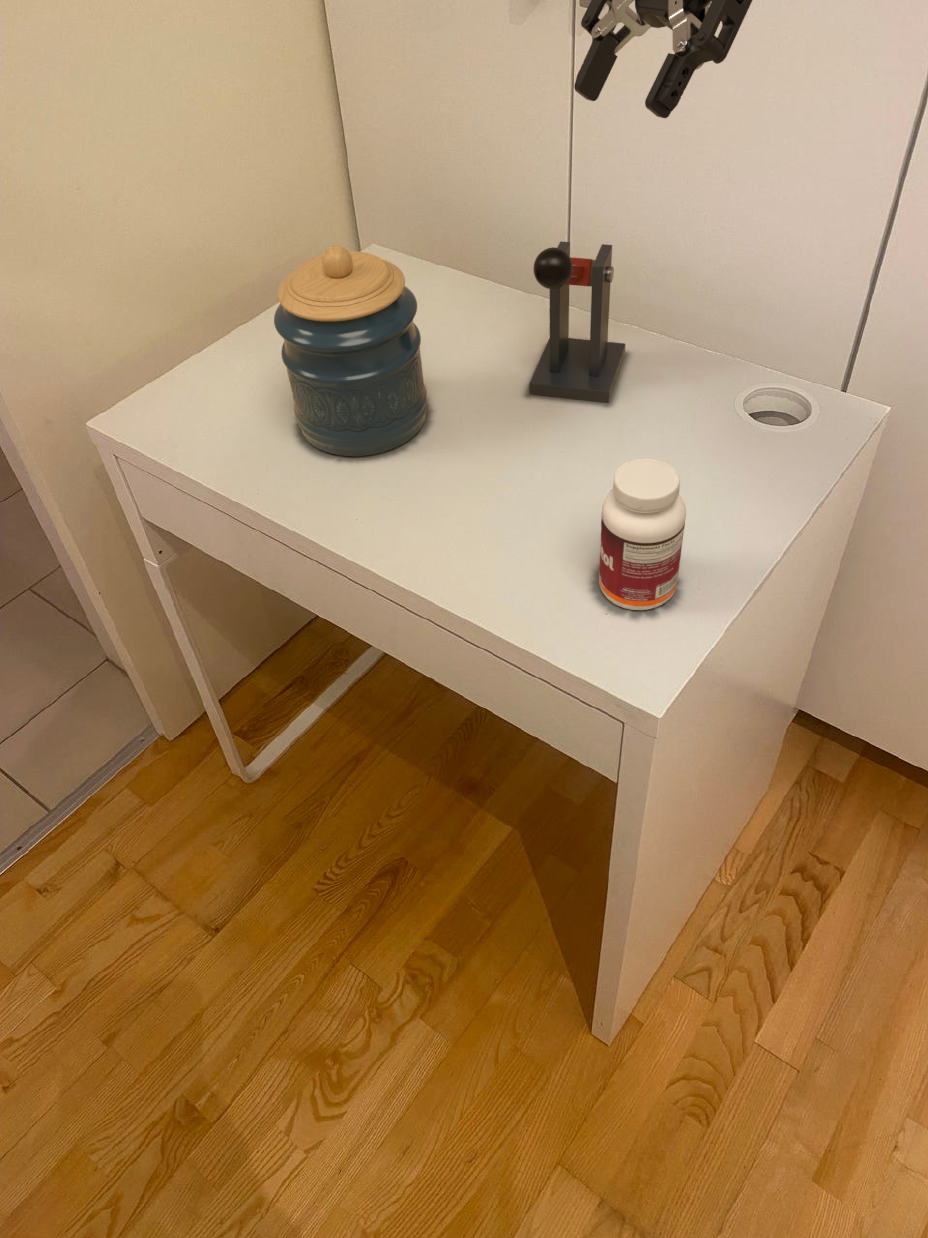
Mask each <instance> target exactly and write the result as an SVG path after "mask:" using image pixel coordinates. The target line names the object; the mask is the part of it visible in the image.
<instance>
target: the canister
mask: <svg viewBox="0 0 928 1238" xmlns="http://www.w3.org/2000/svg"><path fill="white" fill-rule="evenodd" d="M277 299H278V302H279V305H278V306H277V307H276V310H275V312H274V316H273V325H274V328H275V330H276V332H277V334H278V335H279V336H280V337H281V338H283V343H282V346H281V353H280V354H281V359H282V362H283V364H284V366H285V367H286V371H287V377H288V382H289V385H290V390H291V393H292V398H293V402H294V404H293V411H294V416H295V420H296V423H297V425H298V427H299V429H300V430H301V433H302V435H303V437H304V438H305V440H306V441H307V442H308V443H309V444H310V445H312V446H313V447H315V448H316V449H319V450H320V451H323V452H325V453H327V454H331V455H338V456H345V457H364V456H370V455H376V454H381V453H385V452H387V451H390V450H392V449H395V448H397V447H399V446H401V445H403V444H405V443H407V442H408V441H409V440H411V439H412V438H413V437H415V436H416V434H417V433H418V432H419V431H420V430H421V429H422V427H423V425H424V424H425V421H426V417H427V408H428V403H429V401H428V391H427V388H426V385H425V381H424V374H423V373H424V372H423V363H422V355H421V343H422V336H421V335H422V334H421V331H420V329H419V328H418V326H417V325H416V323H415V322H414V319H415V317H416V314H417V311H418V301H417V298H416V296H415V294H414V293H413V291H411V289H410V288H408V286H406V278H405V275H404V273H403V271H402V270H401V268H400V267H398V266H397V265H396V264H394V263H392V262H390V261H388V260H386V259H382V258H381V257H379V256H377V255H376V254H372V253H369V252H365V251H359V250H357V251H356V250H348V249H347V248H345V247H344V246H342V245H332V246H329V247H328V248H326V249H325V250H324V253H323V254H321V255H317V256H314V257H312V258H310V259H308V260H305V261H304V262H303V263H301V264H300V265H299V266H297V267H296V268H295V270H294V271H292V272H290V274H289V275H287V276H286V277H285V278H283V280H282V282H281V283H280V284H279V287H278V290H277Z"/></svg>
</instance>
